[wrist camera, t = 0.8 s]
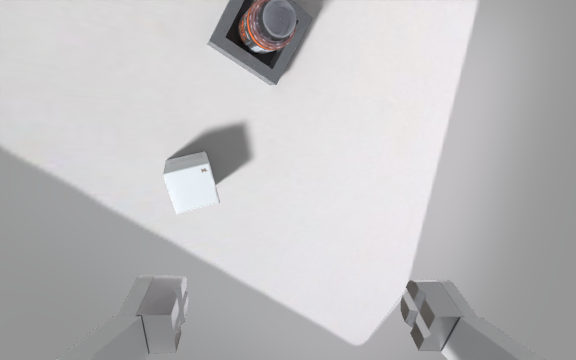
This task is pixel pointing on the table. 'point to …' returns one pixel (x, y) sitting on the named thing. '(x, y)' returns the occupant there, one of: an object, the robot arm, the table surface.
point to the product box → (190, 182)
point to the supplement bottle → (267, 26)
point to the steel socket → (245, 59)
